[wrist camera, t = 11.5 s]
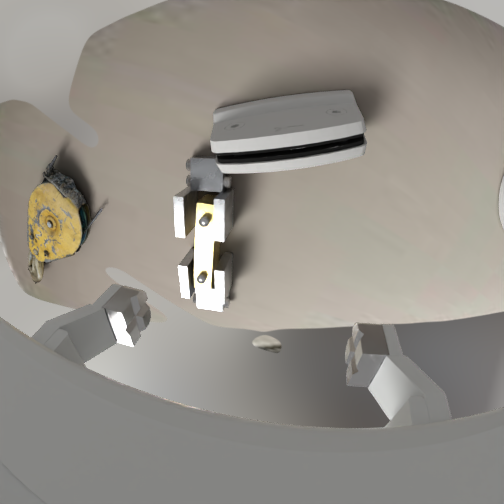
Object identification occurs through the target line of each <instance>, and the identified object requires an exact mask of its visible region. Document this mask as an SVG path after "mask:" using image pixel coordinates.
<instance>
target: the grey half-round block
mask: <svg viewBox="0 0 504 504" xmlns="http://www.w3.org/2000/svg"><path fill="white" fill-rule="evenodd" d="M213 119H214V125H213V130H212V134H211V138H210V143H211V151H212V152H214V153H215V154H216V161H215V162H216V164H217V166H218V167H219V169H220V170H221V172H222V173H235V174H237V173H262V172H275V171H284V170H294V169H301V168H308V167H314V166H319V165H325V164H331V163H335V162H340V161H344V160H348V159H352V158H356V157H359V156H362V155H364V153H365V149H366V144H367V141H366V139H365V136H364V132H366V126H365V122H364V118H363V116H362V114H361V112H360V110H359V108H358V106H357V104H356V101H355V98H354V95H353V93H352V92H351V91H350V90H339V91H325V92H314V93H304V94H296V95H288V96H281V97H275V98H268V99H262V100H257V101H252V102H246V103H241V104H237V105H232V106H228V107H223V108H219V109H216V110H215V111H214V113H213Z"/></svg>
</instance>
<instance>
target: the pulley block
mask: <svg viewBox="0 0 504 504" xmlns="http://www.w3.org/2000/svg"><path fill="white" fill-rule="evenodd" d="M56 158H57V155H56V156H55V158H54V159H53V160H52V162H51V163H50V164H49V165H48V167H47V174H45V172H43V176H44V177H45V178H44V180H43V182H42V183H41V184H39V185H38V186H37V187H36V188H35V189H34V190H33V192H32V194H31V196H30V199H29V202H28V223H27V240H28V246H29V249H30V250H29V253H28V266H29V269H28V270H29V271H30V275H31V277H32V279H33V281H34V282H35V283H37V282H40V281H41V280H42V277H43V272H44V262H47V263H48V262H51V261H55V260H58V259H62V258H65V257H69V256H73V255H74V254H75V252H78V251H79V250H80V248H81V246H80V245H81V244H83V243H84V242H85V241H86V240H87V238H88V235H89V231H90V226H91V224H92V223H93V222H94V220H95V219H96V218H97V216H98V215H99V213H100V212H101V211H102V208H101V209H100V210H99V212H98V213H97V214H96V216H95V217H94V218H93V220H91V218H90V211H89V206H88V204H87V203H86V200H85V199H84V195H81V192H79V191H78V190H77V189H76V186H75V183H74V181H73V179H71V178H70V177H69V176H65V175H63V174H61V173H60V172H59V171H58V170H55V169H54V167H53V164H54V162H55V160H56ZM52 167H53V168H52ZM50 173H53V174H50Z"/></svg>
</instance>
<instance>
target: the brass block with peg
mask: <svg viewBox="0 0 504 504" xmlns="http://www.w3.org/2000/svg"><path fill="white" fill-rule="evenodd" d="M216 196H217V195H210V194H206V195H205V196H204V197H203V198H201V199H200V200H199V201H198V202H197V208H196V228H195V253H194V287H195V288H200V289H204V290H209V291H211V289H212V287H213V285H214V283H215V269H216V267H217V265H218V263H219V252H220V241H214V198H215V197H216Z"/></svg>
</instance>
